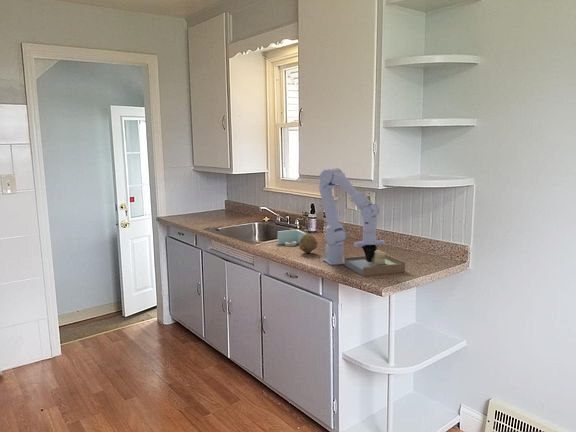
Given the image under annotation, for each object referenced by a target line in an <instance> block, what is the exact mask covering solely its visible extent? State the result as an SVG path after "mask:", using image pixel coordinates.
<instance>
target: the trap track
mask: <svg viewBox="0 0 576 432" xmlns="http://www.w3.org/2000/svg"><path fill="white" fill-rule="evenodd" d="M343 261H344V264H343V265H344V266H345V267H346V268H348V269H350V270H352V271H354V272H355V273H358V274H359V275H360V276H363V277H371V276H377V275H378V276H379V275H380V276H381V275H388V274H389V275H390V274H397V273H405V272H406V261H404V260H401V259H399V258H397V257H395V256H392V255H390V254H388V253H386V252H385V264H376V265H375V264H373V263H371V262H367V260H366V256H365V255H354V256H345V257H344V260H343Z"/></svg>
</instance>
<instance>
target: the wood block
mask: <svg viewBox="0 0 576 432" xmlns="http://www.w3.org/2000/svg"><path fill="white" fill-rule="evenodd" d="M385 253H386V252H384V251H382V250H381V249H380V250H379V249H378V250H377V249H376V251H375V252H374V254H373V257H372V261H371V263H373V264H375V265H376V264H385Z"/></svg>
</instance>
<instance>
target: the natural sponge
mask: <svg viewBox="0 0 576 432" xmlns="http://www.w3.org/2000/svg"><path fill="white" fill-rule="evenodd" d="M298 246H299V250H301V251H302V252H304V253H306V254H310V253H311V252H313V251H314V250H316V249H317V247H318V242H317V239H316V237H315V236H314V235H313V234H311V233H306V234H305V235H303V236H302V237H301V240H300V244H298Z"/></svg>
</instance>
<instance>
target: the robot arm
mask: <svg viewBox="0 0 576 432" xmlns="http://www.w3.org/2000/svg"><path fill="white" fill-rule="evenodd" d="M336 185H339V186H340V187H341V188H342V189H343V190H344V191H345V192H346V193H347V194H348V195H349V196H351V201H352V203H353V204H354V205H355V206H356V207H357V208H358V210H360V214H361V217H362V218H363V219H362V220H363V222H362V224H363V225H362V226H363V229H362V240H359V241H354V242H353V247H354V248H358V247H359V248H360V247H361V248H362V250H363V253H364V256H366V260H367V262H371V261H372V257H373V254H374V252H375V251H377V249H378V248H377V247H378V246H385V245H386V240H384V239H377V222H378V221H377V216H378V215H379V213H380V209H379V206H378V205H377V204H376V203H373V202H372V201H371V200H369V199H368V198H367V196H366V194H365V192H362V191H358V190H357V189H356V188H355V187H354V186H353V184H352V183H351V182H350V181H349V180H348V178H347V177H346V174H345V173H344V172H343V171H342V170H341V169H340V168H337V167H336V168H326V169H323V170H322V171H321V172H320V174H319V187H318V188H319V193H320V198H321V202H322V206H323V211H324V216H325V221H326V224H327V225H326V227H325V229H324V233H325V234H324V235H325V237H324V239H325V242H326V245H325V247H324V250H325V253H324V254H325V255H324V259H323V261H324V262H325V263H327V264H328V265H330V266H334V265H335V266H336V265H344V261H345V260H344V243H345V241H346V240H347V237H348V236H347V232H346V230H345V229H344V226H343V224H342V223H340V221H339V216H338V211H337V208H336V204H335V199H334V198H335V197H334V195H333V191H332V190H333V189H334V187H335V186H336Z"/></svg>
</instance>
